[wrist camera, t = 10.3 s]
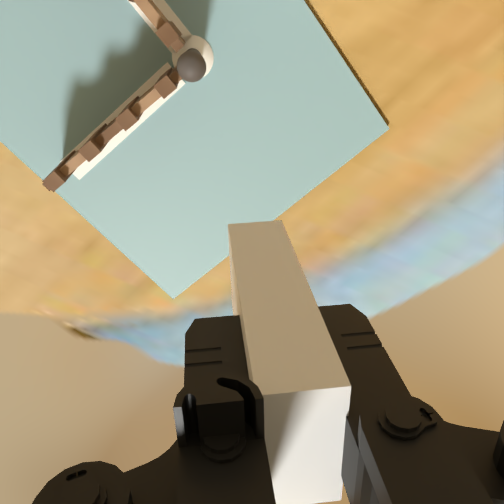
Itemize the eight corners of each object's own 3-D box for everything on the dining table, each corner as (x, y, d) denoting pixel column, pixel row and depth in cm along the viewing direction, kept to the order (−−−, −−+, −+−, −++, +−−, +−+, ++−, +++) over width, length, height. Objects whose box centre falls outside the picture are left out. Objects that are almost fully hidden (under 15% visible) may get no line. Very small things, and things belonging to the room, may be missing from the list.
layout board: (-109, 38, 30) (-114, 38, 30) (140, -243, 26) (139, -247, 26) (173, 296, 41) (173, 299, 40) (387, 127, 36) (389, 128, 36)
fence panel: (177, 62, 32) (173, 69, 27) (185, 73, 32) (183, 82, 28) (59, 162, 34) (36, 186, 29) (68, 172, 34) (47, 197, 30)
